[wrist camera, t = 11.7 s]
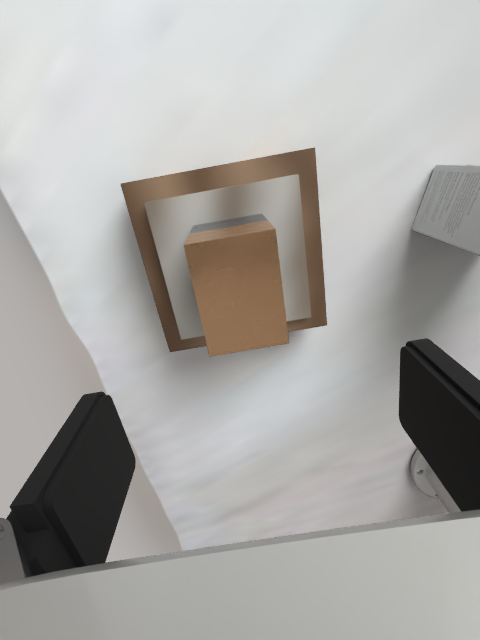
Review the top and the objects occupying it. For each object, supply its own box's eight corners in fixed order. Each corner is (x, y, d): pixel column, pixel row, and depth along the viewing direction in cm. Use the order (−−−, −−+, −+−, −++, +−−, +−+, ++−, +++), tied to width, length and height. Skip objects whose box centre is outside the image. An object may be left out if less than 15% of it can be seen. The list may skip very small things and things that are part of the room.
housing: (261, 213, 24) (275, 228, 18) (273, 302, 27) (289, 343, 21) (193, 225, 24) (183, 244, 18) (212, 312, 27) (209, 356, 21)
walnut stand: (300, 151, 28) (318, 146, 23) (312, 304, 34) (330, 330, 28) (136, 181, 28) (116, 184, 23) (177, 327, 34) (168, 357, 29)
